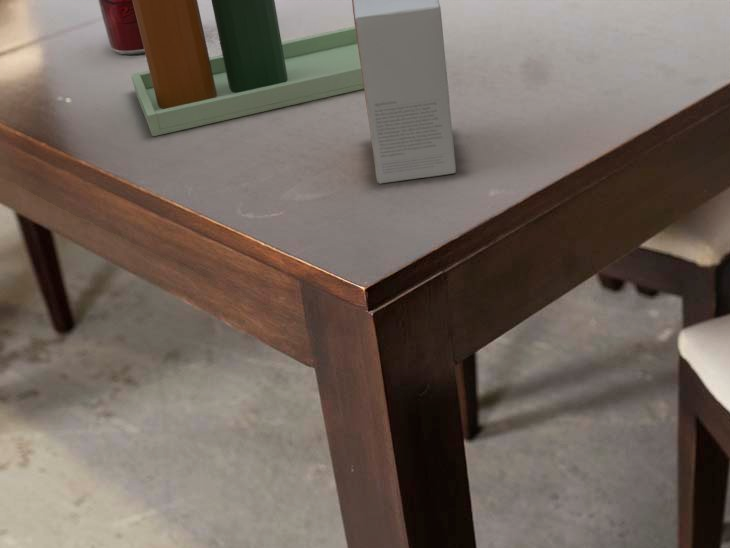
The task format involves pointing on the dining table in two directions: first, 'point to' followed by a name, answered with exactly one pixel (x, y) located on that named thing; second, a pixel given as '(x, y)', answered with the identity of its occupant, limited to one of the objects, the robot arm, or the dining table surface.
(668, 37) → the dining table surface
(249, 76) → the green bottle
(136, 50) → the soda can
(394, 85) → the small box
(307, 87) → the tray
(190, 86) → the amber bottle
